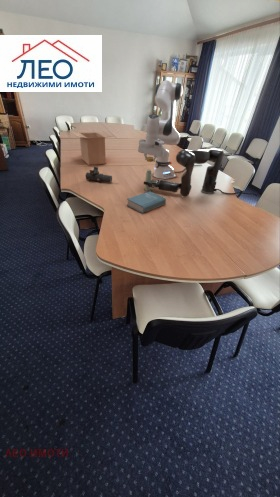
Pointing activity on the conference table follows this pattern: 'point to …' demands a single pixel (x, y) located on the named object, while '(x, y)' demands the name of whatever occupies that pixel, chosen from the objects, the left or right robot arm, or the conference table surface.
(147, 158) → the lid
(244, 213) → the conference table surface
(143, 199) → the book
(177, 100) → the left robot arm
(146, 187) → the jar
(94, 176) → the laser sight
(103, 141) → the box
